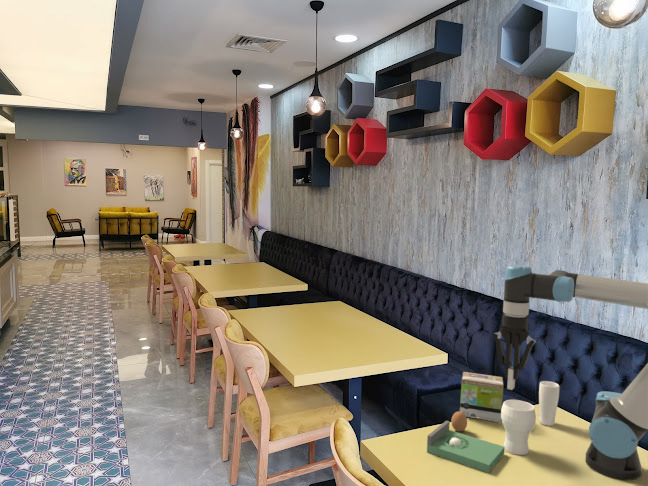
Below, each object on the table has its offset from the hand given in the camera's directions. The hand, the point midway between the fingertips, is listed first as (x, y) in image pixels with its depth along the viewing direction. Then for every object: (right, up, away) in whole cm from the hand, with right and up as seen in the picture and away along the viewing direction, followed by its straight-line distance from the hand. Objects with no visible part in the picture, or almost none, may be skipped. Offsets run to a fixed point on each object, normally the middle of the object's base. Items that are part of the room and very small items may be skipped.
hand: (510, 388), depth 161 cm
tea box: (+1, -20, +34) cm, 40 cm away
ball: (-16, -20, +5) cm, 26 cm away
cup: (+4, -22, +7) cm, 24 cm away
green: (-14, -22, +3) cm, 26 cm away
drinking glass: (+24, -21, +28) cm, 43 cm away
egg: (-11, -21, +19) cm, 31 cm away
